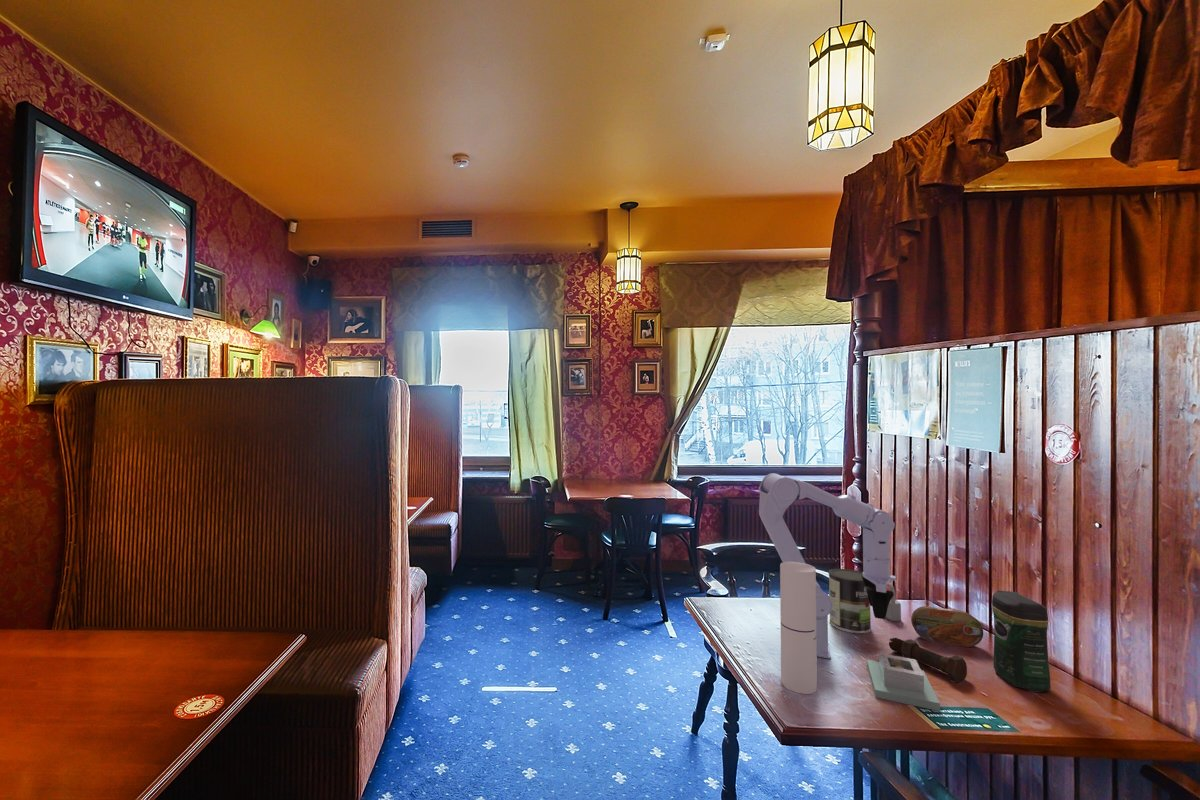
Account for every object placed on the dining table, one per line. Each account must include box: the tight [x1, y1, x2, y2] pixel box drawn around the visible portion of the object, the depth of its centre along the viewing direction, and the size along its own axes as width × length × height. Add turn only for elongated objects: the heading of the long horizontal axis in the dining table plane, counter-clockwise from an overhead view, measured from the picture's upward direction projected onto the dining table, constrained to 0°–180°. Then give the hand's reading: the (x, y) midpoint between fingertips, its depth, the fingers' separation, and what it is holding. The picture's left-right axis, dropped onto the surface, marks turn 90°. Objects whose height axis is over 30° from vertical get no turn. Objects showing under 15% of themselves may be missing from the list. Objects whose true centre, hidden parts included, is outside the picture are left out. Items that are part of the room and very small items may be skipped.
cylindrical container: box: [779, 562, 818, 695], centre depth 99 cm, size 7×7×25 cm
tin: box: [910, 605, 984, 648], centre depth 118 cm, size 15×3×8 cm, turn 68°
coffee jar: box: [991, 590, 1051, 693], centre depth 101 cm, size 10×8×19 cm
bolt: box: [888, 637, 968, 684], centre depth 106 cm, size 6×5×15 cm
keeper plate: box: [866, 659, 941, 712], centre depth 98 cm, size 11×13×4 cm
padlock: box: [885, 581, 902, 622], centre depth 134 cm, size 7×4×10 cm, turn 2°
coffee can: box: [828, 568, 872, 634], centre depth 127 cm, size 10×10×14 cm
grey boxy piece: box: [878, 652, 924, 693], centre depth 97 cm, size 7×7×4 cm
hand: (877, 612), depth 113 cm, fingers open, 7 cm apart
